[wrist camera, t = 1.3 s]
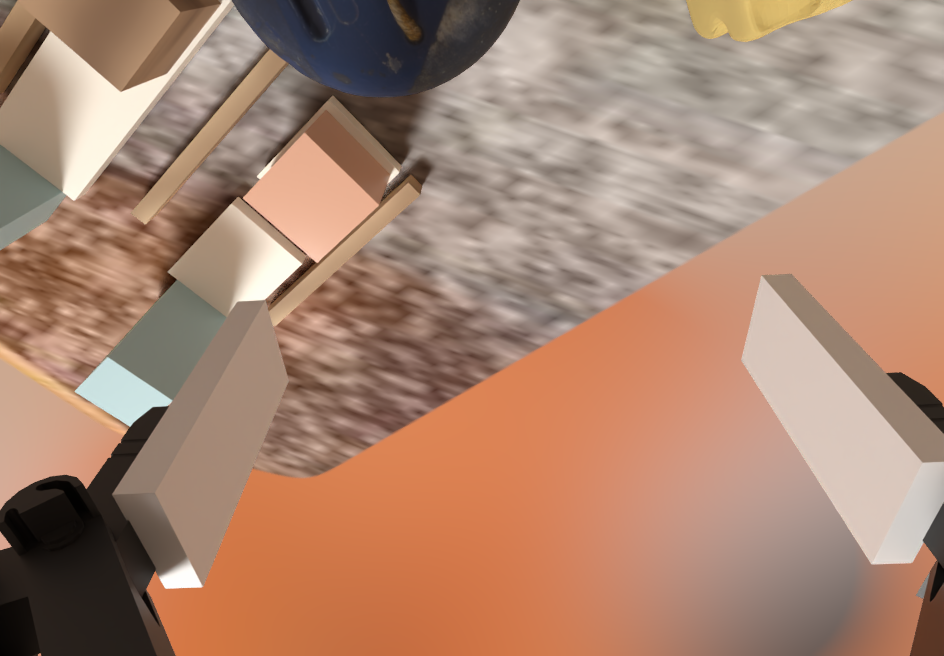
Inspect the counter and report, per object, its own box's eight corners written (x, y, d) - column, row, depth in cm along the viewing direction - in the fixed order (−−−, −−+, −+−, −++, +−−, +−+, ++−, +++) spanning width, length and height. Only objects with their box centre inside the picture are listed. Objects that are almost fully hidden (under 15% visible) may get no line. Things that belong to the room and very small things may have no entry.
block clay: (270, 168, 35) (242, 198, 31) (326, 109, 33) (304, 132, 29) (335, 227, 37) (316, 263, 33) (390, 174, 35) (379, 205, 31)
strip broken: (146, 294, 41) (61, 383, 33) (332, 95, 34) (285, 142, 26) (213, 343, 43) (150, 439, 35) (401, 166, 36) (379, 231, 28)
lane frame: (-14, 78, 34) (-34, 83, 32) (116, -129, 29) (99, -133, 27) (281, 314, 42) (274, 326, 41) (422, 185, 37) (420, 194, 36)
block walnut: (81, -5, 30) (17, 2, 26) (134, -85, 28) (75, -91, 24) (167, 73, 32) (120, 92, 28) (221, 3, 30) (180, 12, 26)
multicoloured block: (-28, 166, 36) (-180, 231, 28) (147, -97, 29) (13, -116, 21) (57, 229, 38) (-60, 307, 30) (238, -2, 31) (152, 16, 23)
